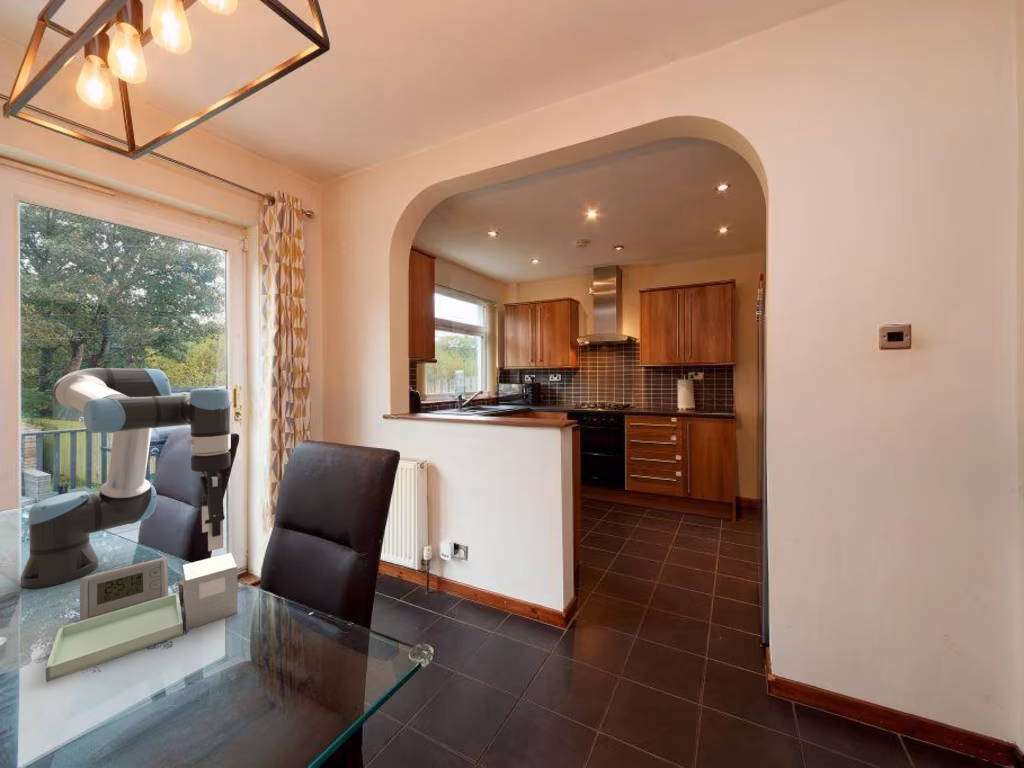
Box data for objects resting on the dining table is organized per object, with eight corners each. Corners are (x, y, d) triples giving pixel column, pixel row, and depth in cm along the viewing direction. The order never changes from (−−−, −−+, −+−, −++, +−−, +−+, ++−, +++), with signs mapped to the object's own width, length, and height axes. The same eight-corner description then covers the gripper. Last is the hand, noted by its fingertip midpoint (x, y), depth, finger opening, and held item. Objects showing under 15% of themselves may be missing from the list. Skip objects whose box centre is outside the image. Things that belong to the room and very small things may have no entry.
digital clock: (74, 629, 92) (73, 585, 92) (89, 609, 100) (88, 568, 99) (165, 607, 101) (164, 567, 101) (172, 590, 108) (171, 553, 108)
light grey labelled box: (183, 610, 99) (182, 564, 99) (231, 595, 106) (230, 552, 106) (186, 630, 92) (185, 581, 91) (237, 613, 99) (237, 566, 98)
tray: (59, 639, 88) (59, 627, 88) (178, 603, 103) (178, 592, 102) (45, 682, 76) (45, 668, 76) (182, 634, 90) (182, 622, 90)
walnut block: (179, 601, 104) (178, 582, 104) (201, 592, 108) (201, 574, 108) (186, 607, 101) (186, 588, 101) (209, 597, 105) (209, 579, 105)
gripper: (187, 446, 100) (188, 528, 101) (195, 464, 82) (197, 563, 82) (223, 443, 105) (224, 520, 106) (238, 458, 87) (239, 552, 87)
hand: (212, 539), depth 94 cm, fingers open, 13 cm apart
